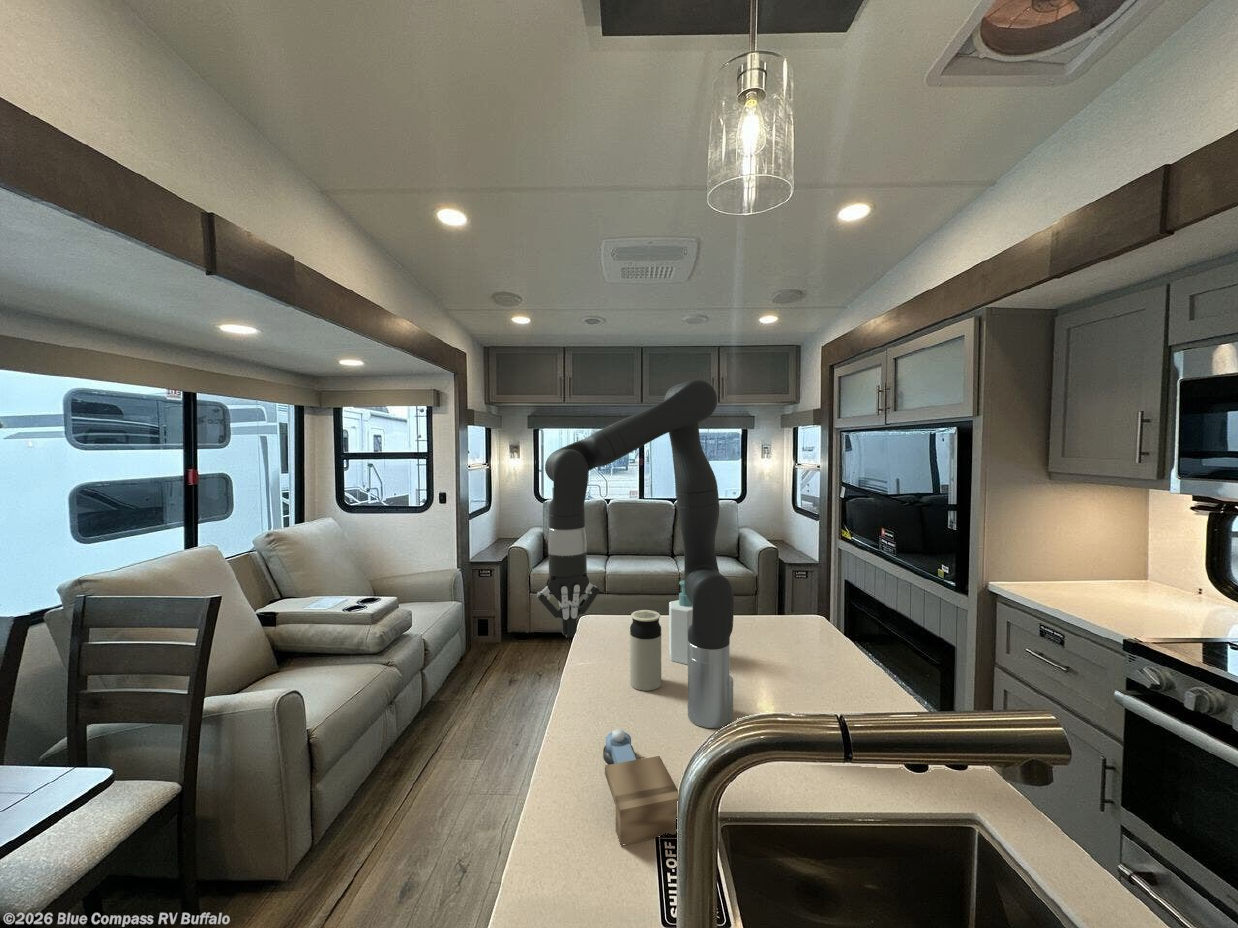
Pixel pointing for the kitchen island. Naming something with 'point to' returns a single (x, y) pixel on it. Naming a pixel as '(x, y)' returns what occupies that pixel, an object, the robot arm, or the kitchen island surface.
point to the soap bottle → (679, 627)
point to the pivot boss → (608, 757)
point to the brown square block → (642, 799)
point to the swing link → (619, 746)
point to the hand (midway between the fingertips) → (568, 635)
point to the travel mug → (645, 650)
